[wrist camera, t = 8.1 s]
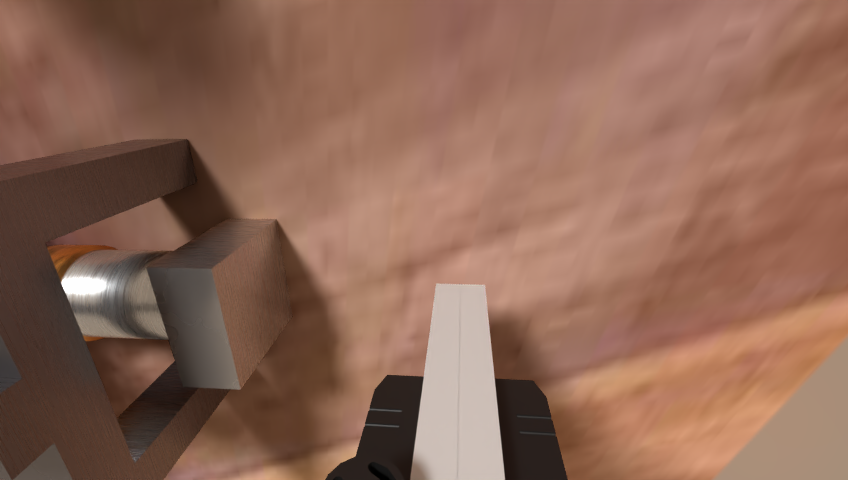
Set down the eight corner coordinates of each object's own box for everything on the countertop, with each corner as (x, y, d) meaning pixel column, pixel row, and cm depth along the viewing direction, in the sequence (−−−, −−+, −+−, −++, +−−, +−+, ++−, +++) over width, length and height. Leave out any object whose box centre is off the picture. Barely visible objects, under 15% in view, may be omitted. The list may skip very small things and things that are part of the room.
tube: (-2, 306, 18) (-134, 371, 14) (-46, 215, 17) (-209, 259, 13) (292, 315, 17) (240, 389, 13) (276, 218, 15) (211, 268, 11)
